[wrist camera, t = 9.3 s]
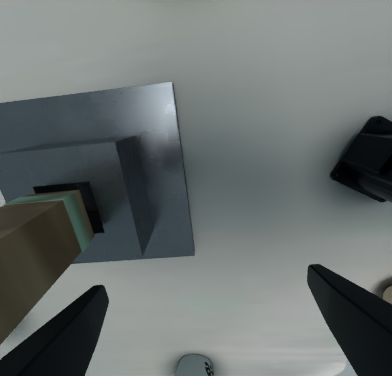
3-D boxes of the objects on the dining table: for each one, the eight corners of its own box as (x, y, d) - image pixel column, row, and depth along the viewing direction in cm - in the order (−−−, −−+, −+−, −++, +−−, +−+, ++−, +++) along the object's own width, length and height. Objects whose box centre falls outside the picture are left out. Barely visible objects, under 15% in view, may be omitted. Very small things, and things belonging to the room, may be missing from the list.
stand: (173, 83, 18) (160, 70, 13) (194, 251, 24) (192, 288, 19) (-16, 106, 19) (-98, 103, 14) (51, 260, 25) (12, 299, 20)
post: (79, 189, 14) (-145, 327, 5) (95, 237, 16) (-59, 415, 7) (26, 194, 15) (-280, 334, 5) (46, 241, 16) (-169, 416, 7)
